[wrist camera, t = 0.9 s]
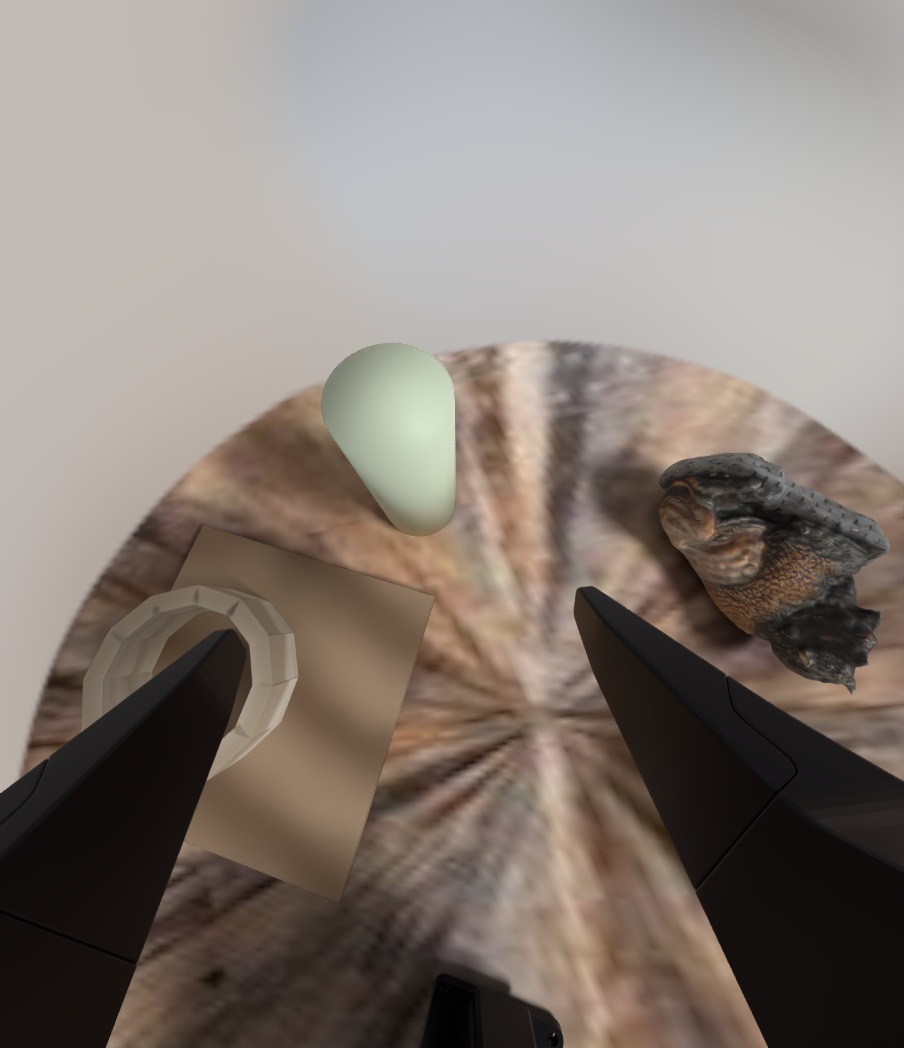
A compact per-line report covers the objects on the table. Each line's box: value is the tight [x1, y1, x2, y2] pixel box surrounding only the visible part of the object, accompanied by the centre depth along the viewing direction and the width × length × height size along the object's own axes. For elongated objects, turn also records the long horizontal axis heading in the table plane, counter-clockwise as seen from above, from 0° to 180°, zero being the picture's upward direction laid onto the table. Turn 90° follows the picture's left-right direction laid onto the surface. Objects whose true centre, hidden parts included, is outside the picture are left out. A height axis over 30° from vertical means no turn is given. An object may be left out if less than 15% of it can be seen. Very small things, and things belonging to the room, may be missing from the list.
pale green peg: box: [321, 343, 456, 536], centre depth 19 cm, size 5×5×12 cm
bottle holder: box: [81, 525, 435, 903], centre depth 20 cm, size 16×16×4 cm
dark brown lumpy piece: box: [658, 453, 890, 695], centre depth 20 cm, size 12×7×10 cm
